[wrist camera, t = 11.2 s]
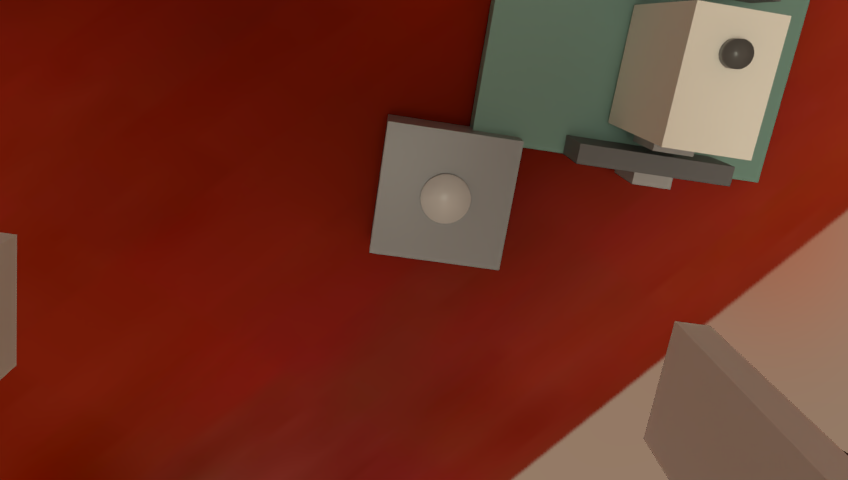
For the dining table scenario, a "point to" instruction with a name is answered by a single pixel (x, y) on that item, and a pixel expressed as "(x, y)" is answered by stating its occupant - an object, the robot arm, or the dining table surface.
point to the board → (596, 87)
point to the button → (444, 192)
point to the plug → (697, 77)
